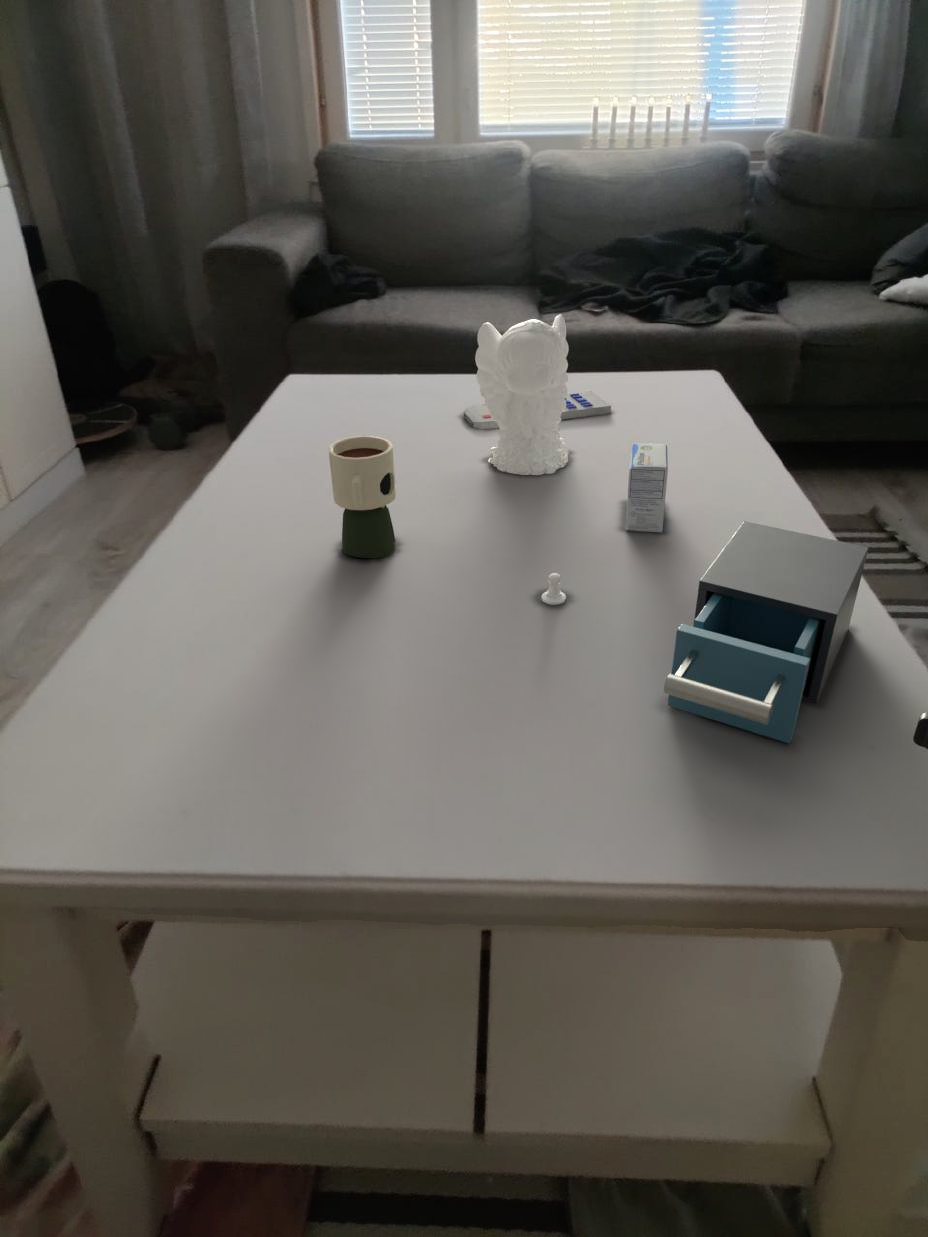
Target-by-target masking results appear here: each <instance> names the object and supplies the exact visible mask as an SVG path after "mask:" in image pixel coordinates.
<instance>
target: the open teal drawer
mask: <svg viewBox="0 0 928 1237" xmlns="http://www.w3.org/2000/svg"><path fill="white" fill-rule="evenodd" d="M825 621H826V620H823V619H819V618H815V617H811V616H807V615H803V614H799V613H795V612H791V611H787V610H783V609H779V608H775V607H771V606H767V605H763V604H759V603H755V602H751V601H747V600H743V599H739V598H735V597H731V596H727V595H723V594H719V593H714V594H713V595H712V597H711V598H710V600H709V601H708V602H707V604H706V605H705V607H704V608H703V610H702V611H701V612H700V614H699V615H698V617H697V618H696V619H695V623H694V622H693V625H694V627H693V625H689V624H685V623H681V624H680V625H679V627H678V628H677V630H676V635H675V641H674V642H675V643H674V650H673V659H672V666H671V673H669V674H668V675H667V677H666V679H665V681H664V685H663V693H664V694H666V695H668V699H667V706H669V707H672V708H675V709H678V710H681V711H685V712H688V713H690V714H693V715H694V714H695V715H697V716H700V717H704V718H706V719H710V720H713V721H716V722H720V723H722V724H726V725H729V726H732V727H735V728H739V729H742V730H745V731H748V732H751V733H755V734H757V735H760V736H764V737H767V738H770V739H773V740H777V741H779V742H782V743H786V744H791V743H792V742H791V741H792V739H793V737H794V734H795V730H796V729H795V728H796V724H797V720H798V716H799V712H800V708H801V707H800V706H801V704H802V703H801V702H802V700H803V699H802V694H803V690H804V688H805V686H806V684H807V682H808V679H809V677H810V675H811V673H812V671H813V669H814V666H815V664H816V660H817V656H818V652H819V647H820V643H821V639H822V634H823V630H824V626H825Z"/></svg>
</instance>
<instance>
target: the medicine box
mask: <svg viewBox="0 0 928 1237" xmlns="http://www.w3.org/2000/svg"><path fill="white" fill-rule="evenodd" d="M668 460H669V459H668V445H667V444H663V443H643V442H642V443H640V442H639V443H631V446H630V456H629V468H628V483H627V498H626V500H627V501H626V513H625V514H626V516H625V531H631V532H633V531H634V532H649V533H663V527H664V517H665V508H666V507H665V506H666V497H667V496H666V495H667V485H668V474H669V473H668V472H669V467H668V466H669V465H668V462H669V461H668Z"/></svg>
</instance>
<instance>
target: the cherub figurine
mask: <svg viewBox="0 0 928 1237" xmlns="http://www.w3.org/2000/svg"><path fill="white" fill-rule="evenodd" d="M566 337H567V324H566V320H565V317H564V315H563V314H558V315H556V316H555V317H554V319H553V322H552V325H550V324H548V323H547V322H543V321H542V320H540V319H535V318H533V319H527V320H525V321H522V322H520V323H517V324H514V325H513V326H511V327H510V328H508V330H506V331H505V332H504V333H503V334H501V333H500V332H499V331H498V330H497V328H496V327H495V326H494V325H493V324H492V323H490V322H483V323H482V324H481V326H480V328H479V329H478V332H477V338H476V340H477V345H478V347H477V349H476V351H475V357H474V360H475V364H476V367H477V371H476V376H475V377H476V381H477V382H476V383H477V384H478V385H479V386H480V387H479V393H480V396H481V398H483V399H484V404H485V405H486V407H487V409H488V410H489V411H490V416H491V418H492V419H493V420H494V421H496V422H497V424H498V427H499V430H498V435H499V440H498V442H497V446H495V447H491V448H490V452H491V453H492V457H489V458H488V464H491V465H493V467H495V468H496V469H497V470H498V471H500V472H506V473H507V474H508V473H509V474H514V475H521V476H529V475H532V476H542V475H543V474H547V475H551V474H554V473H556V471H557V470H558V469H560V468H564V467H565V466H566V465H567V463H569V459H568V457H569V456H568V455H569V450H568V447H567V443H566V442H564V440H565V439H564V437H561V435H560V431H561V429H560V427H559V423H561V422H562V420H561V417H560V416H561V411H562V410H564V409H565V408H566V401H565V397H566V396H567V394H569V389H568V387H567V383H568V380H569V375H568V373H567V371H568V367H569V363H568V359H567V357H568V354H569V351H570V348H569V344H568V341H567V339H566Z"/></svg>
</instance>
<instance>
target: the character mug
mask: <svg viewBox="0 0 928 1237" xmlns="http://www.w3.org/2000/svg"><path fill="white" fill-rule="evenodd" d="M328 458H329V467H330V476H331V477H330V478H331V487H332V496H333V501H334V503H335V504H336V505H337V506H338V507H339V508H342V509H344V510H343V513H342V524H341V525H342V526H341V528H342V529H341V531H342V532H341V550H342V552H343V553H344V554H345V555H348V556H351V557H353V558H363V559H377V560H379V559H381V558H384V557H387V556H390V555H391V554H392V553H393V552H394V551H395V549H396V548H395V547H396V546H395V545H397V542H396V536H395V531H394V525H393V521H392V516H391V513H390V508H389V507H388V506H387V505H389V504H391V503H392V502H393V501H395V499H396V496H397V495H396V494H397V486H396V484H397V483H396V472H395V459H394V446H393V443H392V442H391V441H389V440H388V439H386V438H383V437H379V436H371V435H358V436H350V437H345V438H341V439H339V440H337V441H334V442H332V443H331V444H330V445H329V447H328Z"/></svg>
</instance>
